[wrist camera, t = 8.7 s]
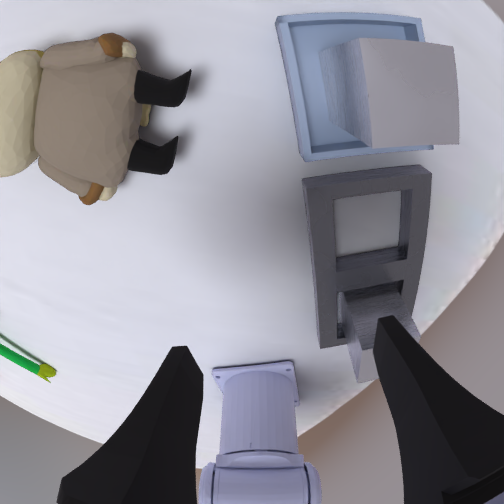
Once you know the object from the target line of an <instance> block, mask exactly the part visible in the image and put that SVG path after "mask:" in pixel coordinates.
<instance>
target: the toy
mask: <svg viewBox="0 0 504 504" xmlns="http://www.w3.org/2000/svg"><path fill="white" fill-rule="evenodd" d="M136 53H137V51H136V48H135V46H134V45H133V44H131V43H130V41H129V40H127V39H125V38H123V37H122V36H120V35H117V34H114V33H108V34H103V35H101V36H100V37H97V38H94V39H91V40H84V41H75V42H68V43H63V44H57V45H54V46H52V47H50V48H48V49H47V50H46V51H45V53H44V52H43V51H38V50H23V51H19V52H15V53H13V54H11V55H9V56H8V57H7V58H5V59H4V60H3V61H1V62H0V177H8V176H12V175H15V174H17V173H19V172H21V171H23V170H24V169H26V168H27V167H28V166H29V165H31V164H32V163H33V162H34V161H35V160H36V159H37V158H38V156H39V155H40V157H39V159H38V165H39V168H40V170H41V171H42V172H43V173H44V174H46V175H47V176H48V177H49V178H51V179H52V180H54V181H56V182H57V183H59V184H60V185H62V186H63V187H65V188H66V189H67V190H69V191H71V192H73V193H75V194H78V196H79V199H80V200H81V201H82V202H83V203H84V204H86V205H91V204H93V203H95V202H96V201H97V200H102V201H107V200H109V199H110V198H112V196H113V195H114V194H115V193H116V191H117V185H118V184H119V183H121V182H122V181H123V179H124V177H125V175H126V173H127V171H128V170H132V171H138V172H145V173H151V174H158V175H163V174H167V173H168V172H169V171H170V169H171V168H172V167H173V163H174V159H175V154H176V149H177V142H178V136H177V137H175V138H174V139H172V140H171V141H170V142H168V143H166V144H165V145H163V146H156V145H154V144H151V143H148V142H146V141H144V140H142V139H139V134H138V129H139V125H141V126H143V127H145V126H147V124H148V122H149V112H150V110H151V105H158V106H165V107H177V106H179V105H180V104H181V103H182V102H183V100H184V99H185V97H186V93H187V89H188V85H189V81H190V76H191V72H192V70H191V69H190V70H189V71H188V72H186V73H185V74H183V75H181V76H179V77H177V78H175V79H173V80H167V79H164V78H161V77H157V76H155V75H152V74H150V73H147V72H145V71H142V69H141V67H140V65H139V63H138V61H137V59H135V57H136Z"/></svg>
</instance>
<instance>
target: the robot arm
mask: <svg viewBox="0 0 504 504" xmlns="http://www.w3.org/2000/svg"><path fill="white" fill-rule="evenodd" d="M373 355H374V360H375V364H376V368H377V372H378V376H379V379H380V382H381V385H382V387H383V391H384V393H385V396H386V399H387V402H388V405H389V408H390V411H391V414H392V417H393V420H394V424H395V427H396V432H397V438H398V443H399V449H400V456H401V464H402V473H403V484H404V504H504V415H502V414H501V413H499V412H497V411H496V410H494V409H492V408H491V407H490V406H488V405H487V404H485V403H484V402H482V401H481V400H479V399H478V398H476V397H475V396H474V395H473V394H471V393H470V392H469V391H467V390H466V389H465V388H464V387H462V386H461V385H460V384H459V383H458V382H457V381H455V380H454V379H453V378H452V377H451V376H450V375H449V374H448V373H446V372H445V370H444V369H443V368H442V367H441V366H439V365H438V364H437V363H436V362H435V361H434V360H433V358H432V357H431V356H430V355H429V354H428V353H427V352H426V351H425V350H424V349H423V348H422V347H421V346H420V345H419V343H418V342H417V341H416V340H415V339H414V338H413V337H412V336H411V335H410V333H409V332H408V331H407V330H406V329H405V328H404V326H403V325H402V324H401V323H400V322H399V321H398V319H397V318H396V317H395V316H394V315H390V316H386V317H381V318H378V322H377V328H376V335H375V341H374V346H373ZM212 376H213V378H214V379H215V381H216V383H217V385H218V386H219V388H220V390H221V391H222V393H223V407H222V421H221V437H220V453H219V455H217V456H216V463H212V462H210V463H208V465H206V466H205V467H204V468H203V469H202V473H201V478H200V485H199V504H321V500H322V491H321V481H320V477H319V473H318V471H317V470H316V468H315V467H313V466H312V464H311V463H309V462H304V458H303V455H302V454H298V442H297V429H296V417H295V407H296V406H299V405H300V402H299V396H298V390H297V384H296V378H295V372H294V366H293V362H290V361H286V362H278V363H271V364H262V365H253V366H244V367H233V368H221V369H213V370H212ZM202 402H203V373H202V372H201V370H200V368H199V366H198V365H197V363H196V361H195V359H194V358H193V356H192V354H191V352H190V350H189V349H188V347H187V346H175V347H172V348H171V350H170V351H169V353H168V355H167V356H166V358H165V360H164V361H163V363H162V365H161V367H160V368H159V370H158V372H157V373H156V375H155V377H154V378H153V380H152V381H151V383H150V385H149V386H148V388H147V389H146V391H145V393H144V394H143V396H142V397H141V399H140V400H139V402H138V403H137V404H136V406H135V407H134V409H133V410H132V412H131V413H130V414H129V416H128V417H127V418H126V420H125V421H124V422H123V423H122V425H121V426H120V427H119V428H118V429H117V431H116V432H115V433H114V434H113V435H112V436H111V437H110V438H109V439H108V440H107V442H106V443H105V444H104V445H103V446H102V447H101V448H100V449H99V450H98V451H96V452H95V453H94V454H93V455H92V456H91V457H90V458H88V459H87V460H86V461H85V462H84V463H83V464H81V465H80V466H79V467H77V468H76V469H74V470H73V471H72V472H70V473H69V474H67V475H66V476H65V477H63V478H62V480H61V484H60V488H59V493H58V498H57V503H58V504H197V498H196V475H195V467H196V444H197V437H198V430H199V423H200V416H201V409H202Z"/></svg>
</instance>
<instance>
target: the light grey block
mask: <svg viewBox="0 0 504 504" xmlns="http://www.w3.org/2000/svg"><path fill="white" fill-rule="evenodd" d="M318 55H319V60H320V66H321V72H322V77H323V83H324V89H325V96H326V103H327V109H328V117H329V121H330V122H331V123H333V124H335V125H336V126H338V127H340V128H341V129H343V130H345V131H346V132H348V133H349V134H351V135H353V136H354V137H356V138H357V139H359V140H360V141H362V142H363V143H365V144H366V145H368V146H369V147H371V148H372V149H375V148H387V147H401V146H419V145H446V144H459V99H458V84H457V73H456V64H455V56H454V49H453V47H452V46H446V45H440V44H434V43H427V42H418V41H409V40H398V39H382V38H357V39H354V40H351V41H348V42H345V43H342V44H339V45H337V46H334V47H331V48H328V49H326V50H323V51H321V52H318Z"/></svg>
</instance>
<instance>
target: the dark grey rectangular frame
mask: <svg viewBox="0 0 504 504" xmlns="http://www.w3.org/2000/svg"><path fill="white" fill-rule="evenodd" d="M431 180H432V173H431V172H430V171H428V170H427V169H425V168H424V167H422V166H421V165H412V166H401V167H390V168H381V169H372V170H363V171H355V172H347V173H339V174H332V175H324V176H318V177H311V178H304V179H302V184H303V192H304V199H305V207H306V215H307V223H308V232H309V241H310V251H311V260H312V271H313V282H314V294H315V306H316V320H317V335H318V340H319V345H320V349H322V348H328V347H334V346H339V345H344V344H347V342H346V339H345V335H344V331H343V328H342V324H337V293H338V292H343V291H349V290H354V289H359V288H365V287H370V286H375V285H380V284H385V283H389V282H394V284H395V286H396V288H397V290H398V292H399V294H400V296H401V297H402V299H403V301H404V303H405V305H406V307H407V309H408V311H409V313H410V315H411V316H412V312H413V308H414V304H415V299H416V294H417V290H418V285H419V280H420V274H421V269H422V263H423V257H424V250H425V243H426V236H427V228H428V219H429V208H430V196H431ZM399 190H401V216H400V232H399V244H398V247H394V248H389V249H383V250H377V251H372V252H366V253H360V254H355V255H349V256H343V257H337V258H336V252H335V233H334V217H333V204H332V200H333V199H339V198H346V197H353V196H361V195H368V194H375V193H383V192H391V191H399Z"/></svg>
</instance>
